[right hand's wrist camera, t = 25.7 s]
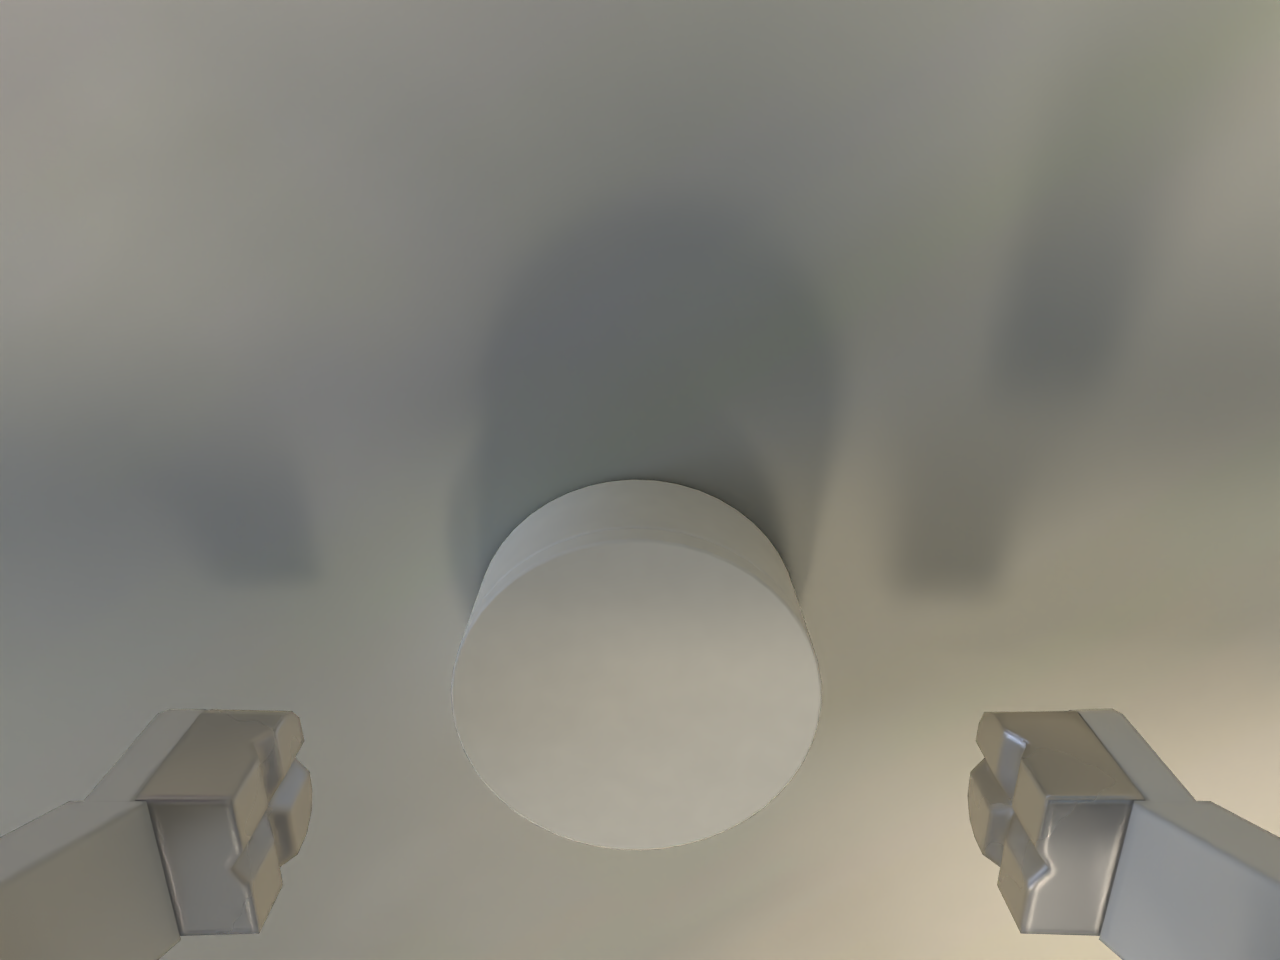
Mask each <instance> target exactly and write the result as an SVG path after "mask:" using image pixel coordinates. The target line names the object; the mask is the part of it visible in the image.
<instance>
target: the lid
mask: <svg viewBox="0 0 1280 960" xmlns="http://www.w3.org/2000/svg"><path fill="white" fill-rule="evenodd" d="M451 700H452V712H453V717H454V722H455V727H456V731H457V733H458V736H459V739H460V742H461V744H462V747H463V750H464V752H465V753H466V755H467V757H468V759H469V761H470V763H471V765H472V767H473V768H474V769H475V771H476V772H477V774H478V775H479V776H480V778H481V779H482V780H483V782H484V783H485V784H486V785H487V787H488V788H489V789H490V790H491V791H492V792H493V793H494V794H495V795H496V796H497V797H498V798H499V799H500V800H501V801H502V802H504V803H505V804H506V805H507V806H509V807H510V808H511V809H512V810H513V811H515V812H516V813H517V814H519V815H521V816H522V817H524V818H525V819H527V820H528V821H530V822H532V823H533V824H535V825H537V826H539V827H541V828H543V829H545V830H547V831H549V832H551V833H553V834H556V835H559V836H561V837H564V838H567V839H570V840H573V841H576V842H580V843H584V844H588V845H592V846H596V847H604V848H611V849H619V850H651V849H664V848H670V847H676V846H682V845H687V844H690V843H694V842H697V841H701V840H704V839H707V838H710V837H712V836H715V835H717V834H720V833H722V832H725V831H727V830H729V829H731V828H733V827H735V826H736V825H738V824H740V823H742V822H744V821H746V820H747V819H749V818H750V817H752V816H753V815H754V814H756V813H757V812H759V811H760V810H762V809H763V808H764V807H765V806H766V805H768V804H769V803H770V802H771V801H772V800H773V799H774V798H775V797H777V796H778V795H779V794H780V793H781V791H782V790H783V789H784V788H785V787H786V786H787V785H788V783H789V782H790V781H791V780H792V779H793V777H794V776H795V774H796V773H797V771H798V770H799V768H800V767H801V765H802V764H803V762H804V760H805V758H806V756H807V754H808V752H809V750H810V747H811V745H812V743H813V740H814V737H815V734H816V730H817V727H818V724H819V718H820V711H821V704H822V686H821V676H820V671H819V665H818V660H817V657H816V654H815V651H814V648H813V645H812V642H811V639H810V636H809V633H808V630H807V627H806V624H805V621H804V618H803V615H802V612H801V609H800V606H799V603H798V600H797V597H796V594H795V591H794V588H793V585H792V582H791V579H790V576H789V573H788V571H787V569H786V567H785V565H784V563H783V561H782V559H781V557H780V555H779V553H778V552H777V551H776V549H775V548H774V546H773V545H772V544H771V542H770V541H769V539H768V538H767V537H766V536H765V535H764V534H763V533H762V532H761V531H760V530H759V528H758V527H757V526H756V525H755V524H754V523H753V522H751V521H750V520H749V519H748V518H746V517H745V516H744V515H743V514H741V513H740V512H739V511H738V510H736V509H734V508H733V507H731V506H729V505H728V504H726V503H724V502H723V501H721V500H719V499H717V498H715V497H713V496H711V495H708V494H706V493H704V492H701V491H699V490H696V489H693V488H689V487H686V486H682V485H679V484H674V483H668V482H662V481H656V480H622V481H610V482H605V483H600V484H596V485H591V486H587V487H584V488H581V489H578V490H575V491H572V492H570V493H567V494H565V495H563V496H561V497H559V498H557V499H555V500H553V501H551V502H549V503H547V504H546V505H544V506H543V507H541V508H540V509H538V510H537V511H535V512H534V513H532V514H531V515H530V516H528V517H527V518H526V519H525V520H524V521H523V522H522V523H520V524H519V525H518V526H517V527H516V528H515V529H514V530H513V531H512V532H511V534H510V535H509V536H508V537H507V538H506V539H505V541H504V542H503V543H502V544H501V546H500V548H499V549H498V551H497V552H496V554H495V555H494V557H493V559H492V560H491V563H490V565H489V567H488V569H487V571H486V574H485V576H484V578H483V581H482V584H481V587H480V590H479V593H478V595H477V598H476V601H475V604H474V607H473V610H472V612H471V615H470V618H469V621H468V624H467V627H466V629H465V632H464V635H463V638H462V641H461V644H460V646H459V649H458V653H457V657H456V660H455V664H454V668H453V675H452V684H451Z"/></svg>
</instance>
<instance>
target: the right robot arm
mask: <svg viewBox="0 0 1280 960" xmlns="http://www.w3.org/2000/svg"><path fill="white" fill-rule="evenodd" d="M303 742H304V737H303V732H302V727H301V722H300V718H299V717H298V716H297V715H296V714H295V713H294V712H293V711H265V710H219V709H211V710H205V709H169V710H166V711H163V712H160V713H158V714H157V715H156V716H155V717H154V718H153V720H152V721H151V722H150V723H149V724H148V726H147V727H146V728H145V729H144V730H143V731H142V733H141V734H140V735H139V736H138V737H137V738H136V740H135V741H134V742H133V743H132V744H131V746H130V747H129V748H128V749H127V750H126V751H125V753H124V754H123V755H122V756H121V757H120V759H119V760H118V761H117V762H116V763H115V764H114V766H113V767H112V768H111V769H110V770H109V772H108V773H107V774H106V775H105V776H104V777H103V779H102V780H101V781H100V782H99V783H98V784H97V786H96V787H95V788H94V789H93V790H92V792H91V793H90V794H89V795H88V796H87V797H86V799H85V800H84V801H69V802H67V803H65V804H63V805H61V806H59V807H58V808H56V809H54V810H52V811H50V812H48V813H46V814H44V815H42V816H40V817H39V818H37V819H35V820H33V821H31V822H29V823H27V824H25V825H23V826H21V827H19V828H18V829H16V830H14V831H12V832H10V833H8V834H6V835H4V836H2V837H0V960H158V959H159V958H160V957H162V956H163V955H164V954H165V953H166V952H167V951H169V950H170V949H171V948H172V947H173V946H174V945H175V944H177V943H178V942H179V941H180V939H181V938H180V936H186V935H220V934H254V933H260V931H261V929H262V927H263V925H264V923H265V921H266V919H267V917H268V915H269V912H270V910H271V908H272V906H273V904H274V902H275V900H276V898H277V896H278V894H279V892H280V890H281V888H282V886H283V883H282V877H281V871H280V867H281V866H282V865H283V864H285V863H286V862H288V861H289V860H290V859H292V858H293V857H294V856H296V855H297V854H298V852H299V850H300V848H301V845H302V843H303V841H304V839H305V837H306V834H307V830H308V825H309V820H310V816H311V811H312V785H311V779H310V772H309V771H308V770H307V769H306V768H305V767H304V766H303V765H302V764H301V763H300V762H299V761H298V760H297V759H296V758H295V757H296V755H297V753H298V752H299V750H300V748H301V746H302V744H303ZM976 742H977V744H978V746H979V748H980V750H981V752H982V753H983V755H984V757H985V758H984V759H983V760H982V761H981V762H980V763H979V764H978V765H977V766H976V767H975V768H974V769H973V770H972V771H971V772H970V780H969V788H968V806H969V818H970V822H971V826H972V830H973V833H974V837H975V839H976V841H977V843H978V846H979V848H980V850H981V852H982V854H983V855H984V856H986V857H987V858H988V859H990V860H991V861H992V862H994V863H995V864H997V865H998V866H999V867H1000V871H999V877H998V883H997V886H998V888H999V890H1000V892H1001V894H1002V896H1003V898H1004V900H1005V902H1006V904H1007V906H1008V908H1009V910H1010V912H1011V914H1012V916H1013V918H1014V921H1015V923H1016V925H1017V927H1018V929H1019V931H1020V933H1023V934H1059V935H1094V936H1100V938H1099V940H1100V941H1102V942H1103V943H1104V944H1105V945H1106V946H1107V947H1108V948H1110V949H1111V950H1112V951H1113V952H1114V953H1115V954H1117V955H1118V956H1119V957H1120V958H1121V959H1122V960H1280V838H1279V837H1278V836H1276V835H1274V834H1272V833H1270V832H1268V831H1266V830H1264V829H1262V828H1260V827H1259V826H1257V825H1255V824H1253V823H1251V822H1249V821H1247V820H1245V819H1243V818H1241V817H1240V816H1238V815H1236V814H1234V813H1232V812H1230V811H1228V810H1226V809H1224V808H1222V807H1220V806H1219V805H1217V804H1215V803H1213V802H1211V801H1196V800H1195V799H1194V797H1193V796H1192V795H1191V794H1190V793H1189V792H1188V790H1187V789H1186V788H1185V787H1184V786H1183V785H1182V783H1181V782H1180V781H1179V780H1178V779H1177V777H1176V776H1175V775H1174V774H1173V773H1172V772H1171V770H1170V769H1169V768H1168V767H1167V766H1166V765H1165V763H1164V762H1163V761H1162V760H1161V759H1160V757H1159V756H1158V755H1157V754H1156V753H1155V752H1154V750H1153V749H1152V748H1151V747H1150V746H1149V744H1148V743H1147V742H1146V741H1145V740H1144V739H1143V737H1142V736H1141V735H1140V734H1139V733H1138V732H1137V730H1136V729H1135V728H1134V727H1133V726H1132V724H1131V723H1130V722H1129V721H1128V720H1127V719H1126V717H1125V716H1124V715H1123V714H1122V713H1120V712H1118V711H1116V710H1114V709H1084V710H1069V711H1036V712H984V714H983V716H982V718H981V720H980V722H979V725H978V731H977V736H976Z"/></svg>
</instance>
